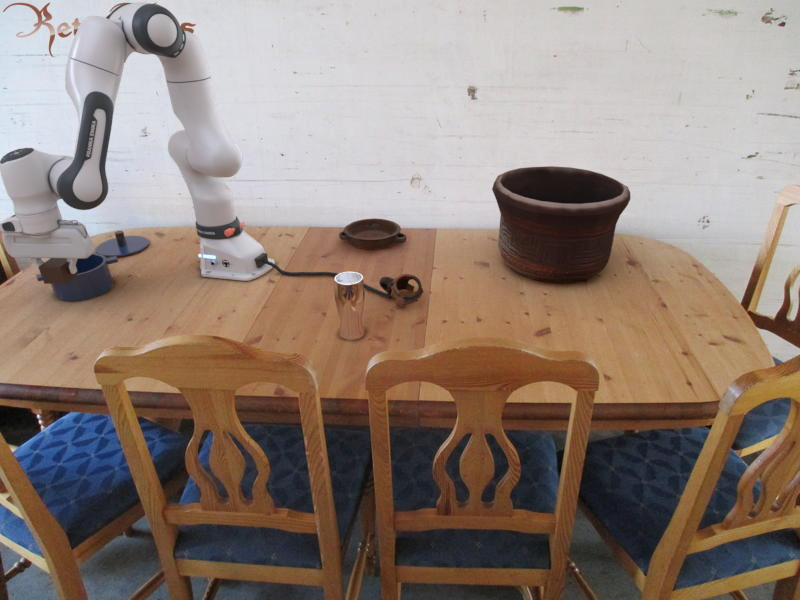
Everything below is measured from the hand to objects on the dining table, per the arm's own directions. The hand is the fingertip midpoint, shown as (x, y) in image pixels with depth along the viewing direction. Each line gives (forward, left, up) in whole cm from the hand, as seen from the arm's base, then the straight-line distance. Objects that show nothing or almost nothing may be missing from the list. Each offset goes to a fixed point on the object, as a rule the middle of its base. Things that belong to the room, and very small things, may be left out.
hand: (59, 272), depth 141 cm
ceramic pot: (-106, -77, -13) cm, 131 cm away
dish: (-50, -72, -13) cm, 88 cm away
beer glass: (-70, -21, -13) cm, 74 cm away
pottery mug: (-74, -41, -13) cm, 85 cm away
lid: (+22, -36, -12) cm, 44 cm away
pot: (+10, -12, -12) cm, 20 cm away
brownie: (0, 0, -2) cm, 2 cm away
